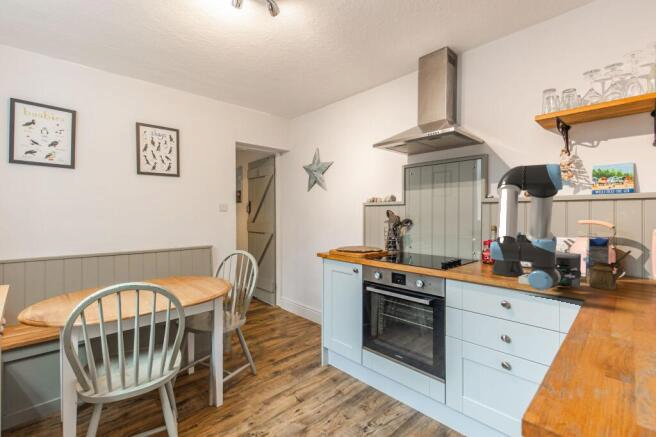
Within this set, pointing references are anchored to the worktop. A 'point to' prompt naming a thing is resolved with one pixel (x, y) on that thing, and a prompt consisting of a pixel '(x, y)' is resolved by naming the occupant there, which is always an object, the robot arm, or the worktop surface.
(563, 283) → the supplement bottle
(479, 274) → the worktop surface
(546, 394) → the worktop surface
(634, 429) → the worktop surface
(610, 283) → the wooden mug
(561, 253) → the bay
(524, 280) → the tray
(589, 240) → the beverage box
